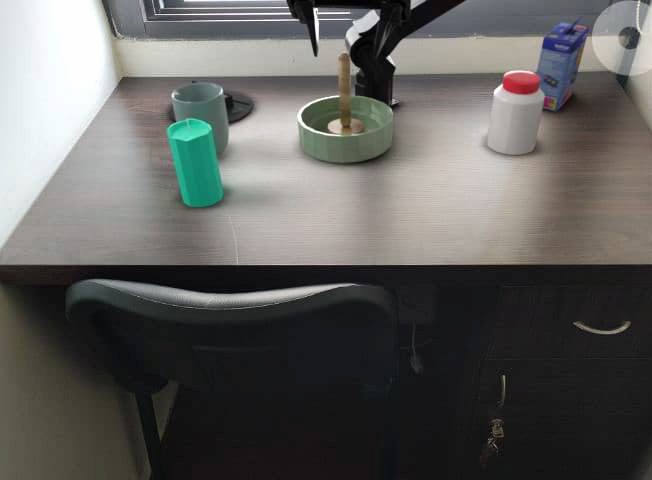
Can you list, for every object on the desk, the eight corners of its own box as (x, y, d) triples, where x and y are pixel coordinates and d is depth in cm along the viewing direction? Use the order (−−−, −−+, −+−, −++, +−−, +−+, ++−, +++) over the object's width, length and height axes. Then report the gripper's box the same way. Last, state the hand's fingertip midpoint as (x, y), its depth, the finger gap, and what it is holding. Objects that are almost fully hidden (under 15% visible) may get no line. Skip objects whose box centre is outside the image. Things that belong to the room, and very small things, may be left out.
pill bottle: (539, 138, 100) (553, 71, 93) (529, 159, 95) (542, 90, 87) (493, 129, 102) (503, 64, 95) (481, 149, 97) (490, 82, 90)
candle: (184, 186, 90) (167, 109, 82) (225, 184, 90) (211, 107, 83) (179, 208, 86) (160, 129, 78) (222, 206, 86) (207, 127, 78)
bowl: (348, 115, 108) (347, 87, 104) (410, 143, 99) (412, 114, 96) (281, 143, 100) (278, 114, 97) (342, 176, 92) (341, 146, 88)
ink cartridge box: (558, 113, 107) (577, 27, 97) (528, 106, 109) (543, 22, 100) (574, 93, 113) (593, 11, 104) (545, 87, 115) (561, 6, 106)
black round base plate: (153, 112, 110) (145, 82, 106) (216, 86, 119) (212, 58, 115) (205, 135, 103) (199, 104, 99) (269, 106, 111) (266, 76, 107)
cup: (222, 165, 95) (211, 104, 88) (176, 161, 96) (162, 100, 89) (239, 143, 100) (230, 83, 94) (195, 139, 102) (183, 80, 95)
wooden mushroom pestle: (330, 130, 102) (327, 45, 93) (366, 132, 101) (366, 45, 92) (325, 147, 97) (320, 59, 88) (362, 149, 97) (361, 60, 88)
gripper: (282, -79, 86) (273, 28, 85) (413, -78, 84) (405, 31, 83) (297, -31, 97) (289, 64, 96) (413, -29, 95) (406, 67, 94)
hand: (345, 56), depth 92 cm, fingers open, 9 cm apart
